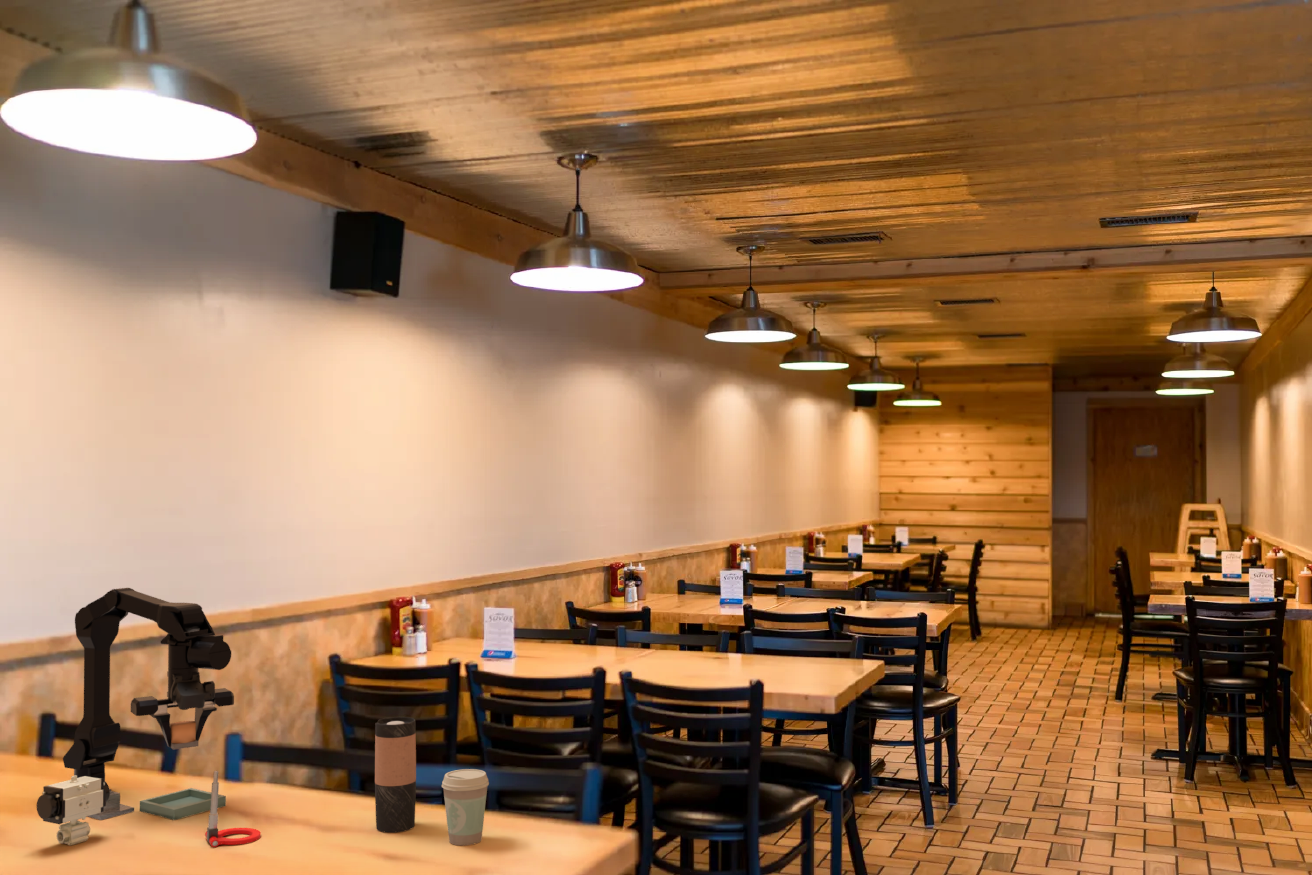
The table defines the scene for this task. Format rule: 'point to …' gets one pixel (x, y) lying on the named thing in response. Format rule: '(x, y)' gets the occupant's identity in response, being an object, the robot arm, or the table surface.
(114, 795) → the stud fixture
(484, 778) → the coffee cup
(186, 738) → the tan cylindrical plug
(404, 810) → the travel mug
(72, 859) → the table surface
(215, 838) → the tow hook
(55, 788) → the pneumatic valve
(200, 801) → the bin
